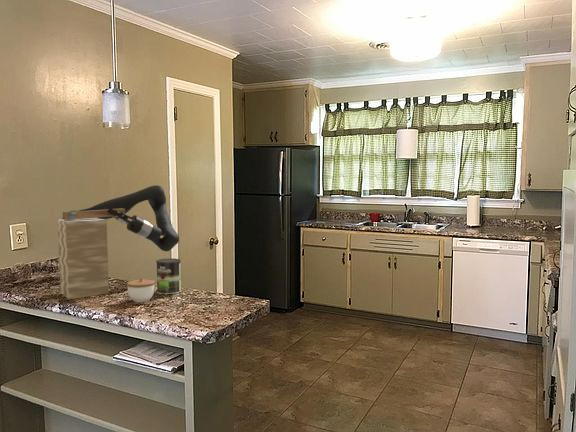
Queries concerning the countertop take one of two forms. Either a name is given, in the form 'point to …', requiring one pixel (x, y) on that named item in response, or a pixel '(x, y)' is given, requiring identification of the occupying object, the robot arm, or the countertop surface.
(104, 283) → the stand
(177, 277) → the coffee can
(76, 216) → the tan wooden plank
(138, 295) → the lidded jar
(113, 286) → the countertop surface
